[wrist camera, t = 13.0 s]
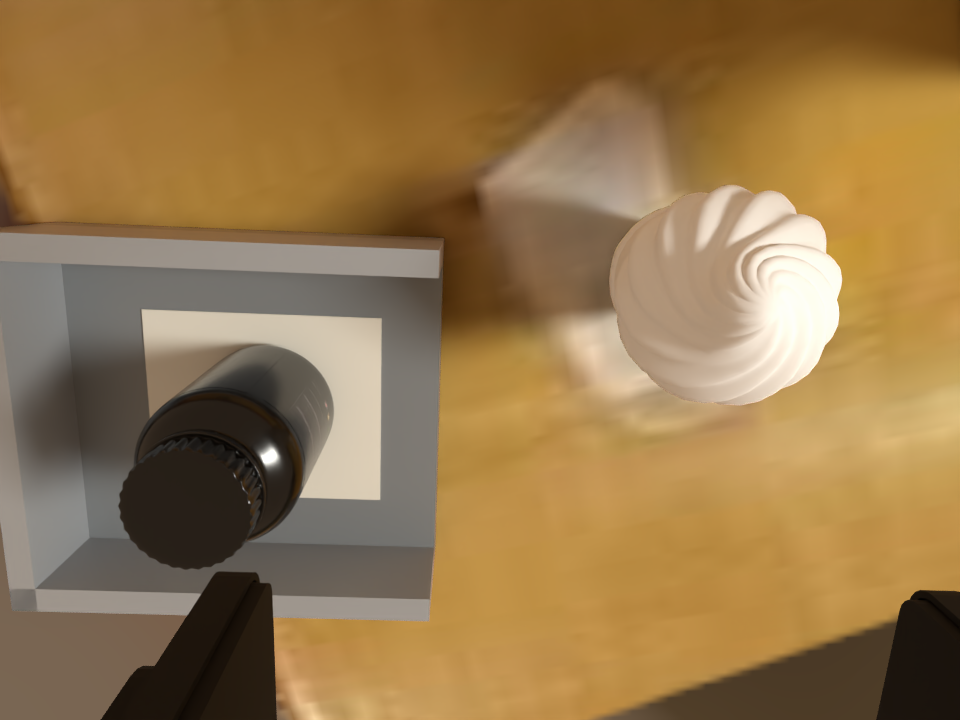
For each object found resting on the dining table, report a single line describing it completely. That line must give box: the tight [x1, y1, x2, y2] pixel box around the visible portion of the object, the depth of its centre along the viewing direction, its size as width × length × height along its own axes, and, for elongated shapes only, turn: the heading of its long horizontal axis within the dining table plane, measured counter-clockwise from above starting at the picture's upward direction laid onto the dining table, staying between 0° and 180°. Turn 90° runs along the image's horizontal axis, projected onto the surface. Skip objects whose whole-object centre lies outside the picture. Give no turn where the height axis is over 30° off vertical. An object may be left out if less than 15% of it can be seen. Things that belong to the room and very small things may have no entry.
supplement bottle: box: [118, 345, 334, 570], centre depth 31 cm, size 7×7×12 cm
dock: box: [0, 222, 444, 621], centre depth 35 cm, size 20×18×7 cm
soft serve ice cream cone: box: [609, 185, 842, 405], centre depth 29 cm, size 8×8×16 cm
